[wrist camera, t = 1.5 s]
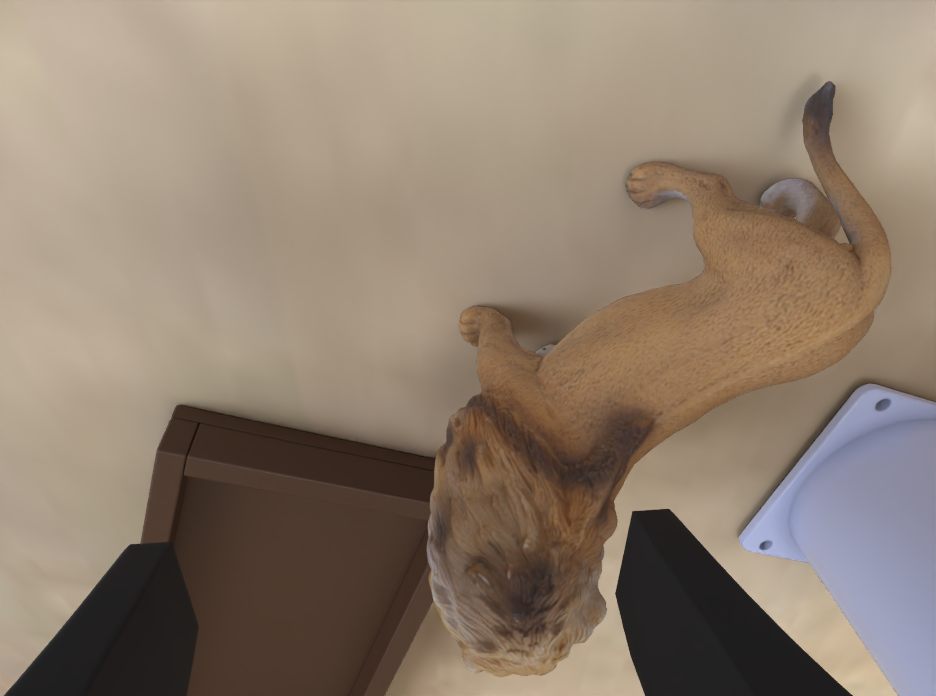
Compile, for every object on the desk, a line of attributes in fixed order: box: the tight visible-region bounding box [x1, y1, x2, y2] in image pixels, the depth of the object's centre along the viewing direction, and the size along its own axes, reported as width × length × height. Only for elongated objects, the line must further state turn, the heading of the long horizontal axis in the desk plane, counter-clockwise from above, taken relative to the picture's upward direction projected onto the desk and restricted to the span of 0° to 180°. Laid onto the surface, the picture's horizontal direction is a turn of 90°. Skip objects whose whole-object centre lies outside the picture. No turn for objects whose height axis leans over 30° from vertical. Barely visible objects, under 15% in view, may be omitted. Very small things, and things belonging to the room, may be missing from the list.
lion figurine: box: [427, 81, 891, 677], centre depth 15 cm, size 15×5×9 cm, turn 138°
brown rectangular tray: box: [140, 405, 435, 696], centre depth 25 cm, size 10×18×2 cm, turn 159°
